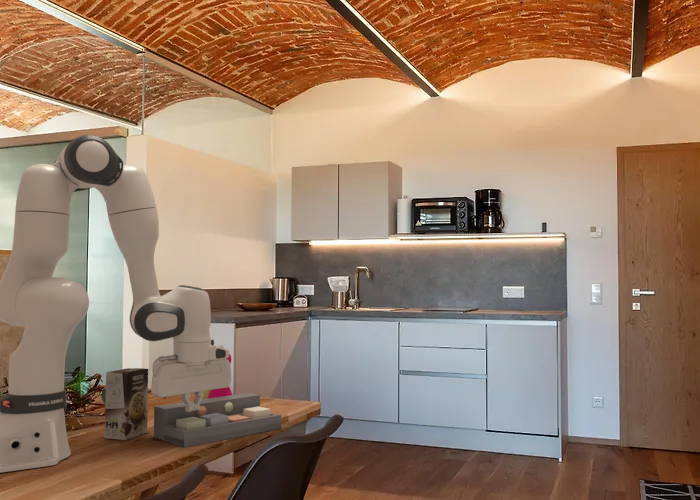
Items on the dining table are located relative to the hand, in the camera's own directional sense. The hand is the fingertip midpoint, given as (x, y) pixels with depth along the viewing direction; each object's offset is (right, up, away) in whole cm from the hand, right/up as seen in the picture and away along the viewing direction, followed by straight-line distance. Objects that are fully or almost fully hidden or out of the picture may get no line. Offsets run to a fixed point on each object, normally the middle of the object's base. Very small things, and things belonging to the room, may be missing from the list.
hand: (192, 411), depth 166 cm
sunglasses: (-30, -10, +52) cm, 61 cm away
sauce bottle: (-6, -9, +46) cm, 47 cm away
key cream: (+14, -5, +13) cm, 19 cm away
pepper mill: (+1, -8, +29) cm, 30 cm away
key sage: (0, -4, 0) cm, 4 cm away
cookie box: (-17, -7, +5) cm, 20 cm away
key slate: (+4, -4, +4) cm, 7 cm away
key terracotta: (+9, -6, +9) cm, 14 cm away
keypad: (+5, -7, +8) cm, 12 cm away
